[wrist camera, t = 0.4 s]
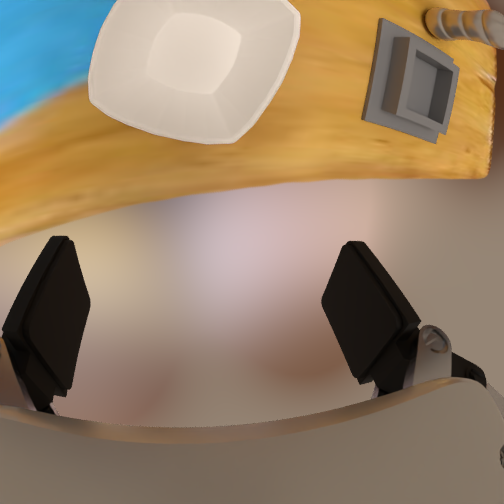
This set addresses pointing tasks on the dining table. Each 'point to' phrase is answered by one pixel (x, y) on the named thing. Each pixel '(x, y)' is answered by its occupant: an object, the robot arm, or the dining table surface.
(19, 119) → the dining table surface
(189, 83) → the bowl
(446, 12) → the plastic bottle
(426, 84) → the gray square tray
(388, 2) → the dining table surface
